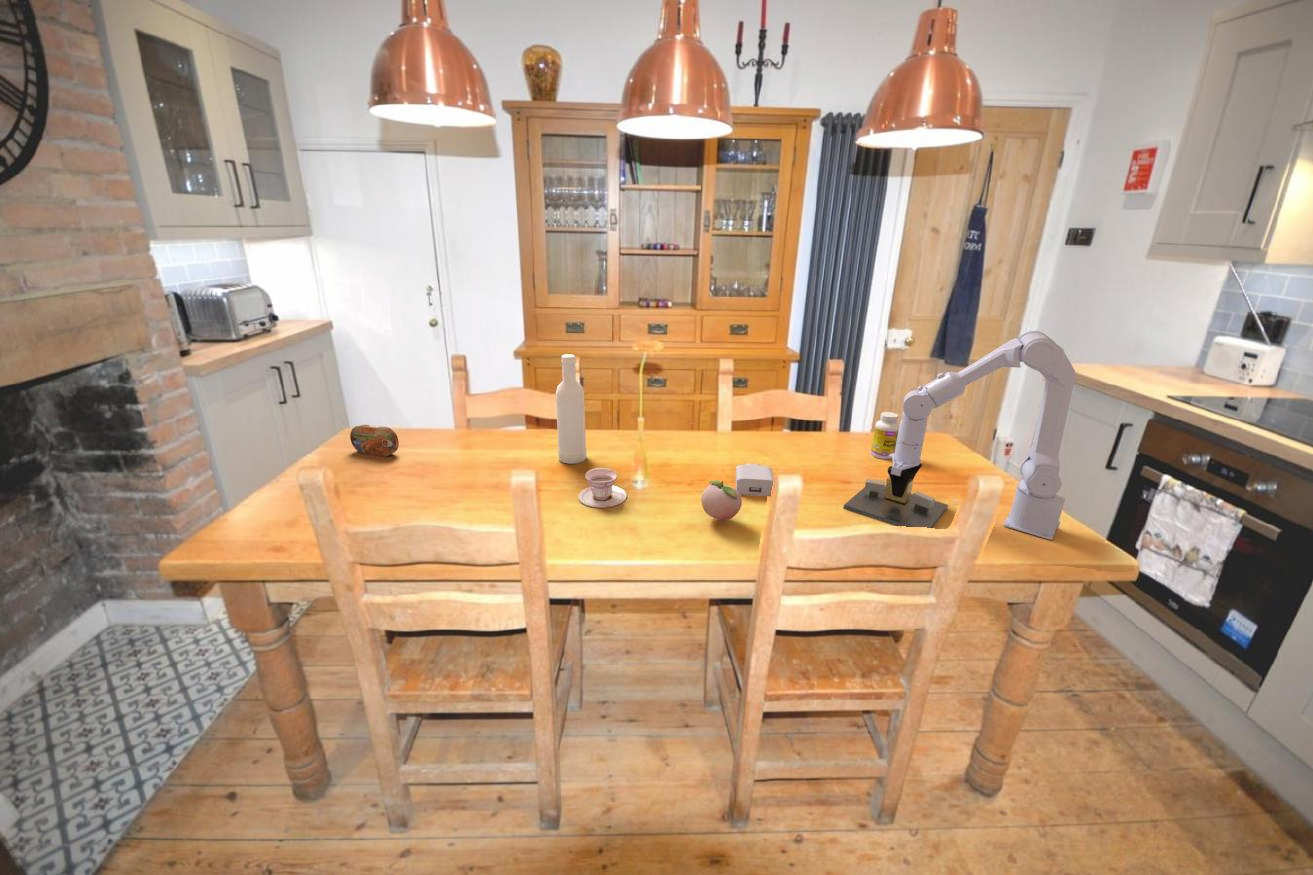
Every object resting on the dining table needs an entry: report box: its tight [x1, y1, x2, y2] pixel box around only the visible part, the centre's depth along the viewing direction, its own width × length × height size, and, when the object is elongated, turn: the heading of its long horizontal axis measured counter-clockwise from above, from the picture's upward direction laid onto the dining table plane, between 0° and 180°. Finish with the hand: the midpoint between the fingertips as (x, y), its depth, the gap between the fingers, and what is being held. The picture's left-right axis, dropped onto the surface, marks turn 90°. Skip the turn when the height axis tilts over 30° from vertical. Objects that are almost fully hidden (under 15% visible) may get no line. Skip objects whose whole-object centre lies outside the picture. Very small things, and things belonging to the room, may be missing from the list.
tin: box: [349, 424, 400, 457], centre depth 163 cm, size 15×3×8 cm, turn 73°
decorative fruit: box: [700, 479, 743, 522], centre depth 128 cm, size 9×8×10 cm
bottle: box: [555, 354, 587, 465], centre depth 157 cm, size 8×8×30 cm
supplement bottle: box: [870, 411, 900, 460], centre depth 166 cm, size 7×7×13 cm
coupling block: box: [884, 476, 914, 503], centre depth 139 cm, size 5×4×5 cm
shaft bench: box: [843, 478, 949, 529], centre depth 136 cm, size 19×17×4 cm
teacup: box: [577, 467, 628, 509], centre depth 140 cm, size 12×12×6 cm
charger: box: [735, 462, 775, 498], centre depth 149 cm, size 5×9×15 cm
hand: (900, 492), depth 139 cm, fingers closed on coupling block, 4 cm apart
